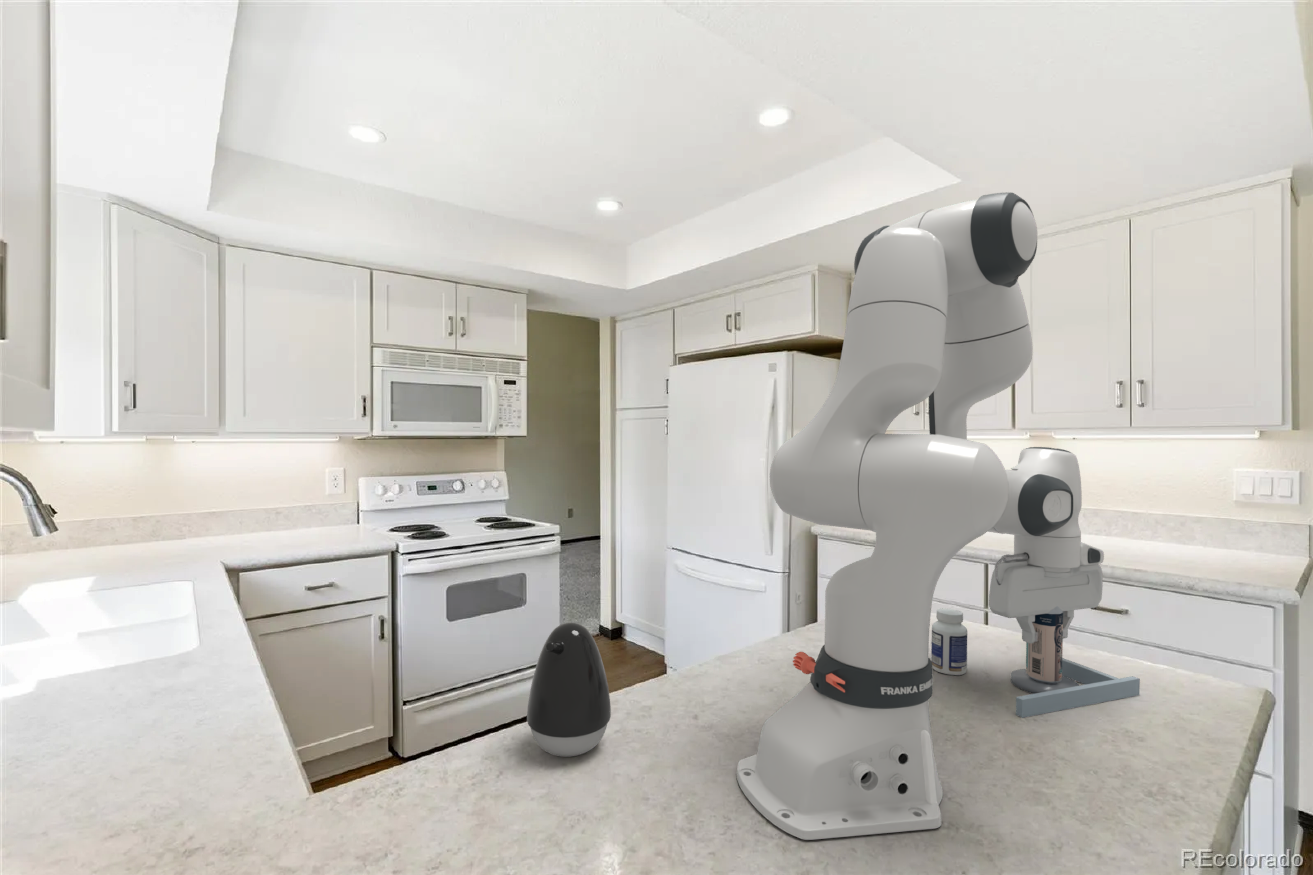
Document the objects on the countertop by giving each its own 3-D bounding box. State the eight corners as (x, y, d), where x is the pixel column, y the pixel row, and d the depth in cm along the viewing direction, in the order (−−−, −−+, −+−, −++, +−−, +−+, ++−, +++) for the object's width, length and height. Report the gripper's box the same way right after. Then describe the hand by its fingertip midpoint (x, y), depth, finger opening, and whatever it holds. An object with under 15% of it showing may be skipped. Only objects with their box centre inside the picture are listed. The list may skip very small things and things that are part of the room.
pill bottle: (968, 668, 104) (969, 610, 104) (964, 678, 100) (965, 618, 100) (933, 661, 107) (934, 605, 107) (928, 671, 103) (929, 612, 103)
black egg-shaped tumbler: (509, 759, 74) (510, 630, 73) (552, 721, 83) (554, 607, 83) (586, 776, 70) (588, 642, 70) (623, 734, 80) (624, 616, 80)
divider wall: (1022, 717, 86) (1022, 699, 86) (943, 679, 99) (944, 663, 99) (1139, 695, 94) (1139, 678, 94) (1052, 662, 107) (1052, 648, 107)
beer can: (1067, 687, 94) (1068, 608, 94) (1032, 684, 95) (1033, 605, 95) (1054, 675, 99) (1055, 599, 99) (1021, 672, 100) (1022, 597, 100)
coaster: (1049, 702, 91) (1049, 695, 91) (997, 678, 100) (997, 672, 100) (1092, 694, 94) (1093, 687, 94) (1038, 672, 103) (1038, 666, 103)
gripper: (1014, 559, 91) (1013, 654, 91) (1111, 551, 97) (1110, 639, 98) (978, 551, 96) (977, 640, 97) (1072, 544, 103) (1071, 627, 104)
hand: (1044, 639), depth 97 cm, fingers closed on beer can, 5 cm apart
